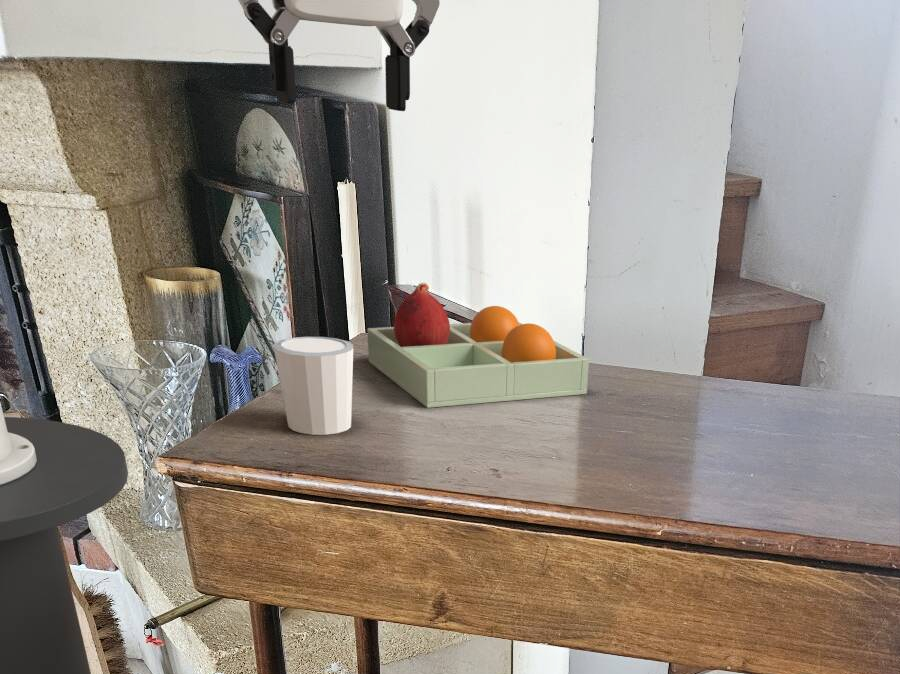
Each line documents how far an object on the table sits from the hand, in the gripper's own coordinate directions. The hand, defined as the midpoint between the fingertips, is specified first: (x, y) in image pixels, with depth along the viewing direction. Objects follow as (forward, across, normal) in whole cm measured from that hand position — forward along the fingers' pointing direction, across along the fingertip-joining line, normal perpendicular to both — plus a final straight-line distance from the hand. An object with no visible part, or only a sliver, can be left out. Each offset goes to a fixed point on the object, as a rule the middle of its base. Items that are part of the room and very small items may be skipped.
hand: (342, 106), depth 89 cm
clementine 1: (+23, -18, -6) cm, 30 cm away
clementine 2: (+23, -18, +2) cm, 30 cm away
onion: (+24, -10, -6) cm, 26 cm away
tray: (+24, -14, -2) cm, 28 cm away
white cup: (+25, +6, +9) cm, 27 cm away
